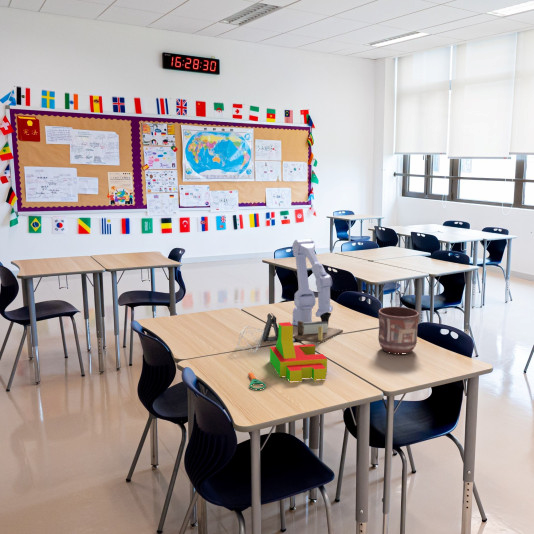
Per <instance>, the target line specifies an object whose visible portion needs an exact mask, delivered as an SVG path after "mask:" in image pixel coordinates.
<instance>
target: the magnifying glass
mask: <svg viewBox="0 0 534 534" xmlns="http://www.w3.org/2000/svg"><path fill="white" fill-rule="evenodd" d="M247 375H248V377H249V379H250V380H252V381H250V383H249V386H250V387H249V389H250V388H252V389H257V390H256V391H261V390H260V389H263V388H265V387H267V386H266V383H265V382H263V381H262V380H260V379H257V378H256V376H255V374H254V373H253V372H249V373H248V374H247ZM253 384H263V385H264V386H263V385H262V387H253V386H254V385H253ZM251 385H253V386H251ZM252 389H251V390H252ZM265 389H266V388H265ZM263 390H264V389H263Z"/></svg>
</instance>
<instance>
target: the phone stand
mask: <svg viewBox="0 0 534 534" xmlns="http://www.w3.org/2000/svg"><path fill="white" fill-rule="evenodd" d="M272 327H273V331H274V334H275V336H270V334H271V330H272ZM263 330H264V333H263V332H262V333H263V336H262V337H261V336H260V338H262V341H263V342H265V343H266V341H270V342H277V340H278V323H277V317H276V316H275V315H274V313H272V312H271V313H268V314H267V320H266V322H265V326H264V328H263Z"/></svg>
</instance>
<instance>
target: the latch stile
mask: <svg viewBox="0 0 534 534" xmlns="http://www.w3.org/2000/svg"><path fill="white" fill-rule="evenodd" d="M322 335H323V327H321V326H319V327H318V340H320V341H322Z"/></svg>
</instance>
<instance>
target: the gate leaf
mask: <svg viewBox="0 0 534 534" xmlns="http://www.w3.org/2000/svg"><path fill="white" fill-rule="evenodd" d="M319 326H321V327H323V333H328V327H329V321H328V322H327V321H312V322H303V334H315V333H318V327H319Z"/></svg>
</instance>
